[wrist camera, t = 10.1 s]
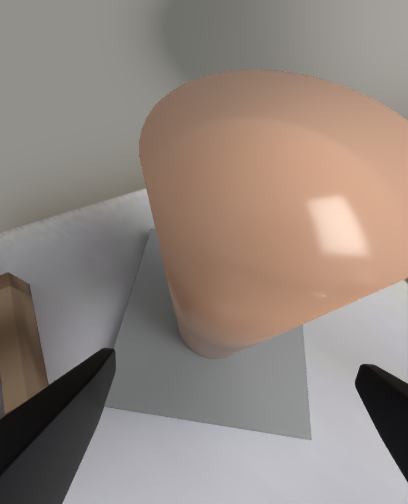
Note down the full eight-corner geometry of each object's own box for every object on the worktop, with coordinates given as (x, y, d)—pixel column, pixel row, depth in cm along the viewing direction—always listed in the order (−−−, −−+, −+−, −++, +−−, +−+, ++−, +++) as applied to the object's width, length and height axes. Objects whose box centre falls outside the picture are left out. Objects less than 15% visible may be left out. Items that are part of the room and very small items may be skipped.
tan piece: (255, 361, 16) (548, 303, 3) (172, 356, 16) (96, 270, 3) (249, 255, 20) (358, 39, 7) (184, 250, 20) (176, 20, 7)
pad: (304, 436, 15) (311, 440, 14) (101, 403, 15) (95, 405, 14) (292, 255, 22) (296, 251, 21) (152, 234, 22) (150, 228, 21)
